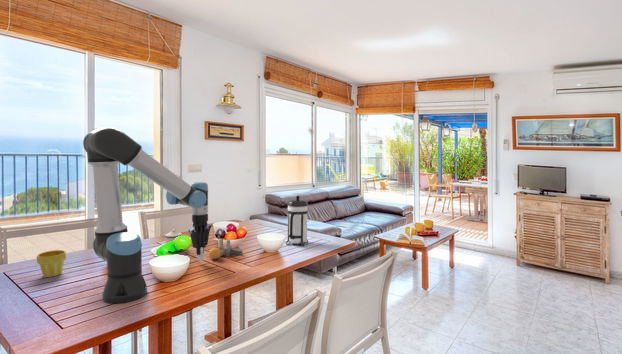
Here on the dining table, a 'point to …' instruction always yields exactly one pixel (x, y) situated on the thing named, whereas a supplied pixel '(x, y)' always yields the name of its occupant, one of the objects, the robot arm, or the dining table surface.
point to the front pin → (223, 251)
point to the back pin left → (220, 244)
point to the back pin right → (227, 248)
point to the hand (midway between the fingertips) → (200, 260)
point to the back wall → (235, 251)
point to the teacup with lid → (172, 236)
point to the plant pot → (51, 262)
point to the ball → (214, 253)
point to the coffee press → (297, 221)
